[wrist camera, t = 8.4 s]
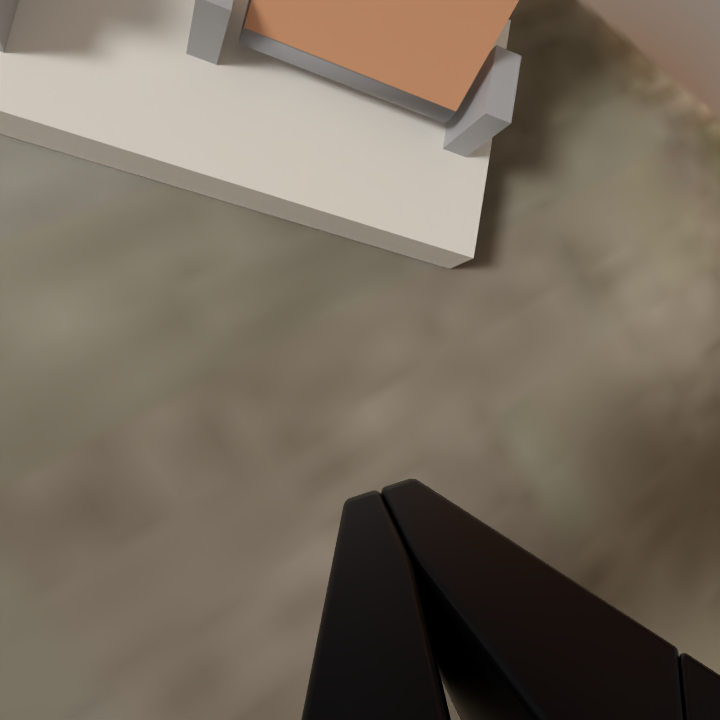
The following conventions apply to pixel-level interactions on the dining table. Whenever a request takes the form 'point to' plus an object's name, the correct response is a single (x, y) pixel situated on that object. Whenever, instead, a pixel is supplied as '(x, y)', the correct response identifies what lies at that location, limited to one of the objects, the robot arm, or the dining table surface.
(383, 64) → the paddle
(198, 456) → the dining table surface
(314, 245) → the dining table surface
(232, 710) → the dining table surface
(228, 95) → the switch console
